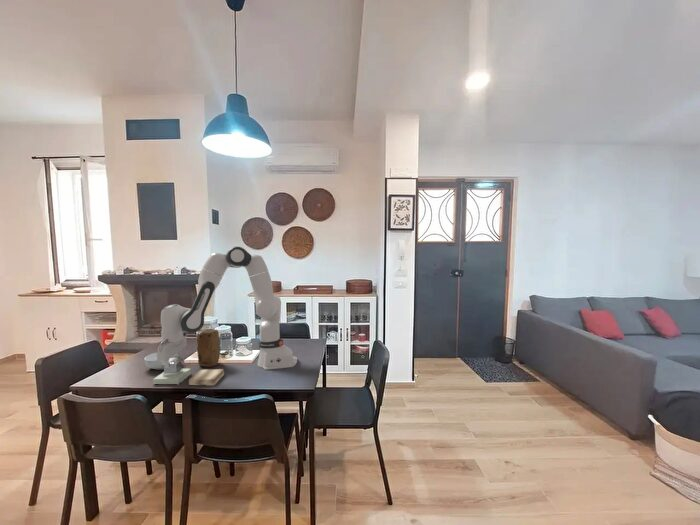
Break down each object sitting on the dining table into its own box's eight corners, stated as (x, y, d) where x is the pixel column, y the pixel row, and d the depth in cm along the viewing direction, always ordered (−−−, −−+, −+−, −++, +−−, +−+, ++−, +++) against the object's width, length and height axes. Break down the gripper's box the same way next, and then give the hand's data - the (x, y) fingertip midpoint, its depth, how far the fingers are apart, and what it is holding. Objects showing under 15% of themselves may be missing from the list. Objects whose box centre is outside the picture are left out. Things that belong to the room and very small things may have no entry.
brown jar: (221, 362, 168) (220, 329, 167) (213, 367, 160) (212, 332, 159) (204, 362, 169) (203, 328, 168) (195, 367, 161) (194, 332, 161)
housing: (182, 371, 149) (182, 357, 149) (176, 375, 143) (176, 361, 143) (169, 371, 149) (168, 357, 148) (162, 376, 143) (162, 361, 143)
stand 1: (191, 374, 152) (190, 368, 152) (178, 384, 140) (178, 378, 140) (167, 374, 152) (167, 369, 152) (153, 385, 140) (153, 379, 140)
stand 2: (223, 374, 151) (223, 369, 151) (214, 385, 139) (214, 379, 139) (200, 375, 151) (200, 369, 151) (189, 386, 139) (188, 379, 139)
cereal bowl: (170, 359, 174) (170, 347, 174) (186, 364, 165) (185, 352, 165) (138, 369, 159) (138, 356, 159) (153, 375, 151) (153, 362, 151)
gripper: (166, 343, 135) (167, 372, 136) (188, 331, 155) (189, 356, 156) (152, 343, 135) (153, 372, 135) (176, 331, 155) (177, 356, 156)
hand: (173, 363), depth 146 cm, fingers open, 8 cm apart
